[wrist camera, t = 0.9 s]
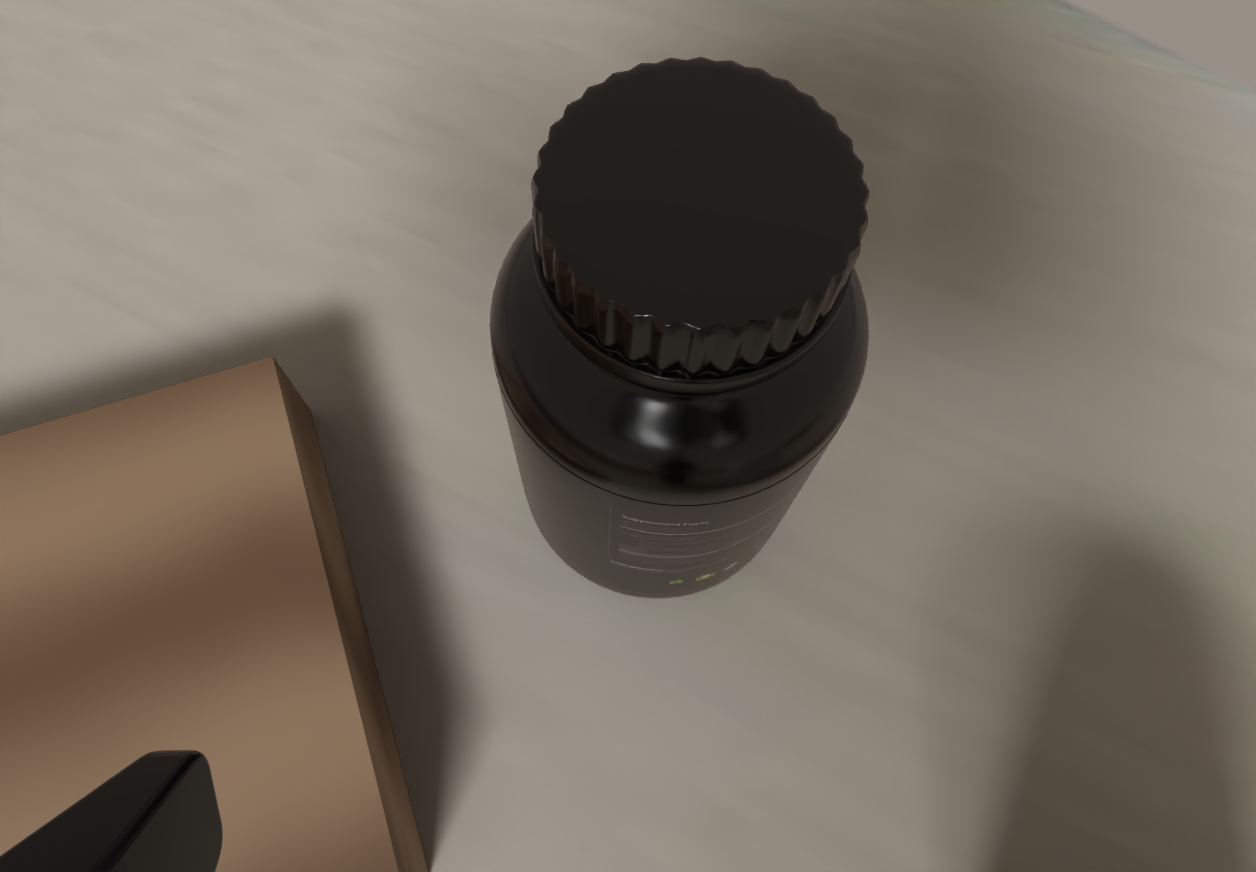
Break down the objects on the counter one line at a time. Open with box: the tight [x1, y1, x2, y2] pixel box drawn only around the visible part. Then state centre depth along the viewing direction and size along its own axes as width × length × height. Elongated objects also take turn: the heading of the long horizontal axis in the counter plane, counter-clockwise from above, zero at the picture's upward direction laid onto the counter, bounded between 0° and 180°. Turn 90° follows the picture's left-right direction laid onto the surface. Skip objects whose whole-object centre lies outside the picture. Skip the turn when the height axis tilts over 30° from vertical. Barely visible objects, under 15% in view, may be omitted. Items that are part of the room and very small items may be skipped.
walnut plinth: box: [0, 356, 428, 872], centre depth 19 cm, size 12×12×3 cm
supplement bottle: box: [490, 57, 869, 598], centre depth 18 cm, size 7×7×12 cm
